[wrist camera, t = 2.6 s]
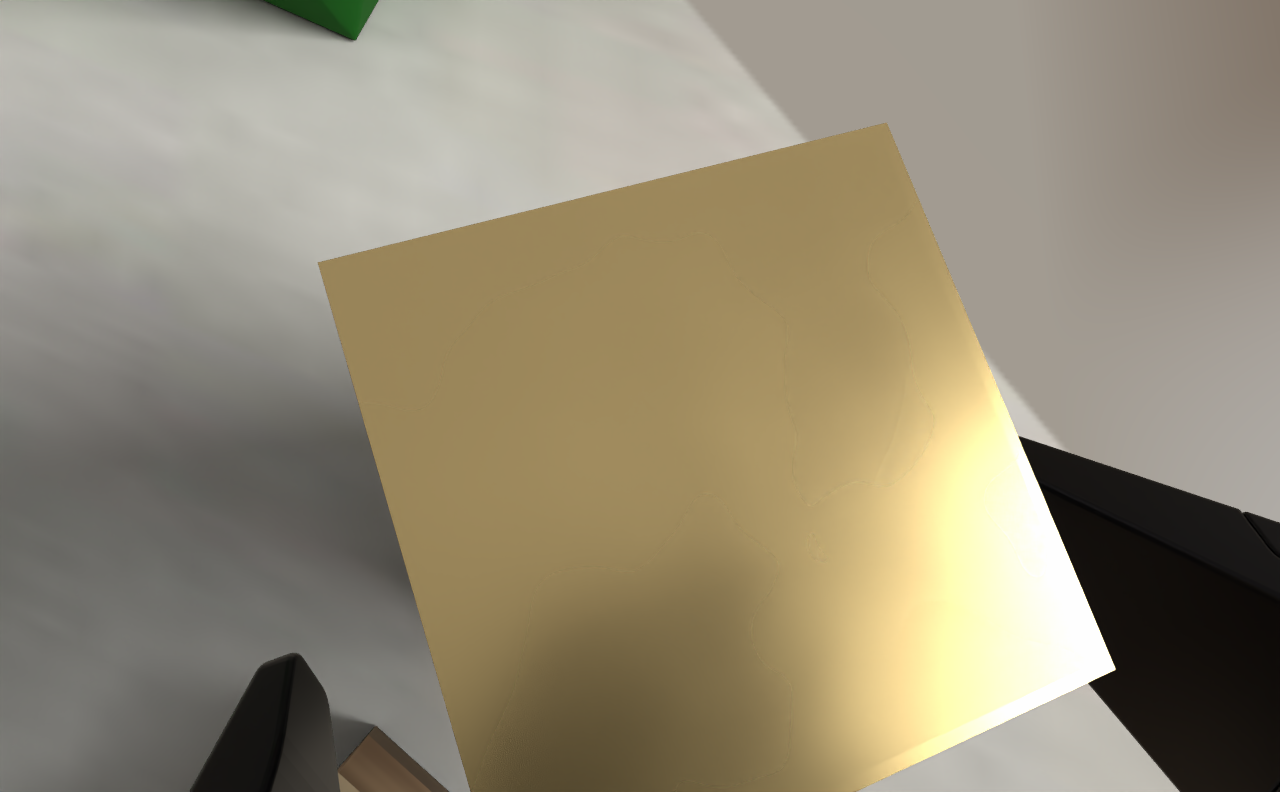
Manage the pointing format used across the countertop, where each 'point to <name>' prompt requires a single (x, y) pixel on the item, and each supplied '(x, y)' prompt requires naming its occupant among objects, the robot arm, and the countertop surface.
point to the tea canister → (709, 483)
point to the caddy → (383, 768)
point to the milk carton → (332, 13)
